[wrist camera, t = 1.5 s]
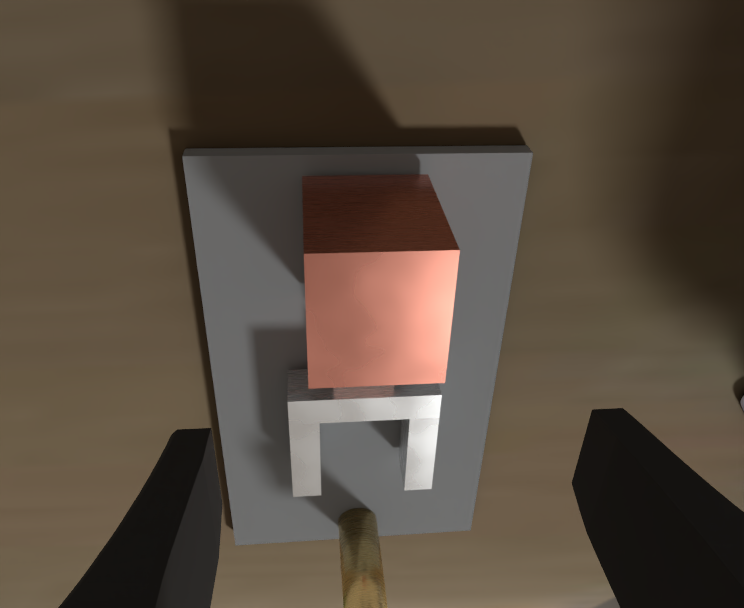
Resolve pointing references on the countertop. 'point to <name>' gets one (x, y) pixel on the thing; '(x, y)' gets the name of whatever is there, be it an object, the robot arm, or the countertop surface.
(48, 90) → the countertop surface
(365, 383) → the pink cube with handle
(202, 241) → the mat
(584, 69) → the countertop surface
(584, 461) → the robot arm
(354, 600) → the keeper post
